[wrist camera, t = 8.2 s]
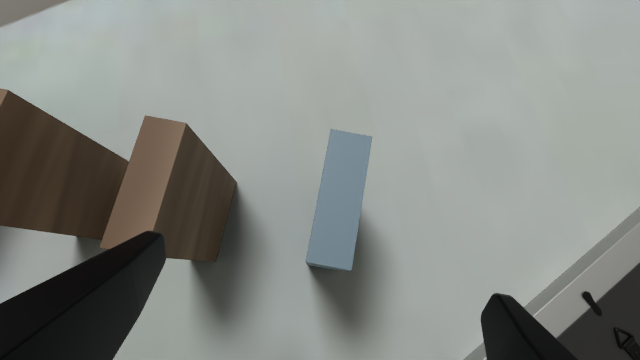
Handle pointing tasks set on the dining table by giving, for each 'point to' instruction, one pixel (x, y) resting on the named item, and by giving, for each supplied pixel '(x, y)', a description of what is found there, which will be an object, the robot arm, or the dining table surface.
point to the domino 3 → (339, 201)
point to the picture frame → (595, 300)
